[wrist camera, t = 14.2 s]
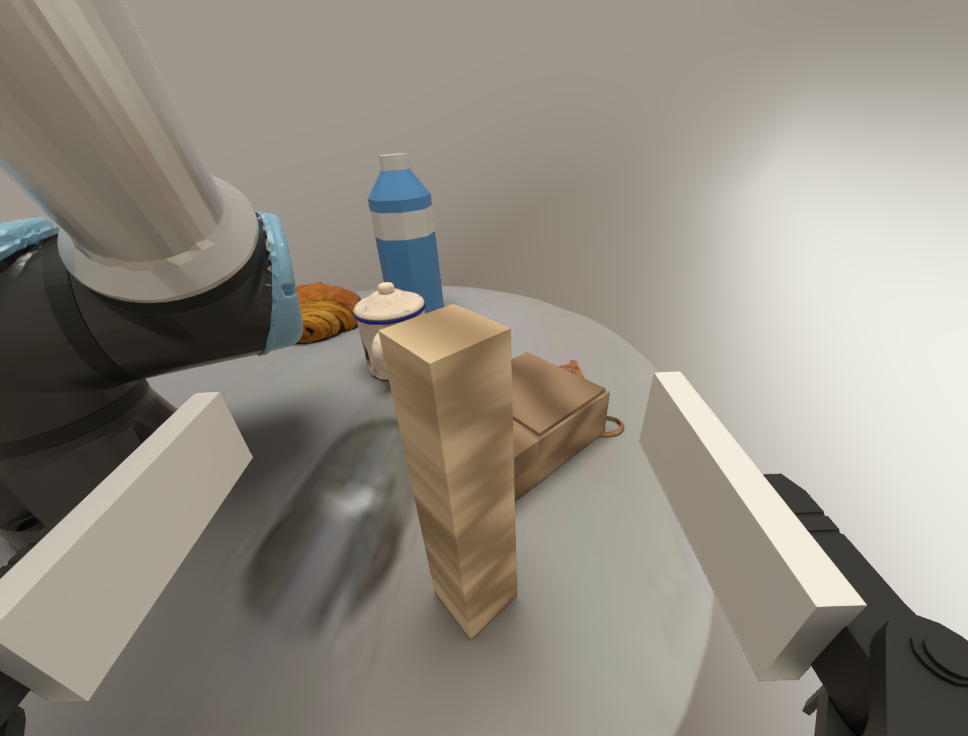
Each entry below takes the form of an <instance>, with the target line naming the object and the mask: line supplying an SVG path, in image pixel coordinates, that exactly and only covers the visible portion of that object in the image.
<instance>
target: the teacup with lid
mask: <svg viewBox="0 0 968 736" xmlns="http://www.w3.org/2000/svg"><path fill="white" fill-rule="evenodd" d="M425 307H426V304H425V302H424V300H423V298H422V297H421V296H420V295H418V294H416V293H413V292H408V291H403V290H400V289H394V285H393V284H392V283H390V282H384V283H381V284H379V285H378V291H377V292H375V293H373V294H372V295H371V296H369V297H366V298H364V299H362V300H361V301H359V302H358V303H357V304H356V306H355V308H354V313H353V315H354V318H355V319H356V320H357V323H358V327H359V331H360V335H361V339H362V343H363V348H364V352H365V356H366V360H367V364H368V368H369V371H370V373H371V374H372V375H373V376H375V377H376V378H379V379H382V380H389V378H388V374H387V369H386V365H385V360H384V355H383V351H382V346H381V342H380V337H379V332H378V330H381V329H384V328H387V327H389V326H392V325H395V324H398V323H401V322H404V321H406V320H409V319H412V318H415V317H418V316H420V315H423V314H425V310H424V309H425Z"/></svg>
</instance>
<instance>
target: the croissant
mask: <svg viewBox="0 0 968 736" xmlns="http://www.w3.org/2000/svg"><path fill="white" fill-rule="evenodd" d="M296 290H297V294H298V299H299V304H300V310H301V315H302V322H303V334H302V336H301V338H300V340H299V341H298V342H302V343H306V342H313V341H316V340H321V339H323V338H328V337H331V335H336V334H338V333H339V332H346V331H350V330H352V329H353V328H354V327H355V326H356V325H357V324H358V323H357V320H356V319H355V318H354V315H353V313H354V308H355V306H356V304H357V303H358V302H359V301H361V300H360V299H361V298H360V297H359V296H358V295H357V294H356V293H354V292H352V291H349V290H346V289H344V288H342V287H338V286H330V285H325V284H323V283H322V282H321V283H320V282H318V283H313V284H308V285H300V286H297V287H296Z"/></svg>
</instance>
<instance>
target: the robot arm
mask: <svg viewBox="0 0 968 736" xmlns="http://www.w3.org/2000/svg"><path fill="white" fill-rule="evenodd" d="M0 170H1V171H2V172H3V173H4V174H5V175H6V176H7V177H8V178H9V179H10V180H11V181H12V182H14V183H15V184H16V185H17V186H18V187H19V188H20V189H21V190H22V191H23V192H24V193H25V194H26V195H27V196H28V197H29V198H30V199H32V200H33V201H34V202H35V203H36V204H37V205H38V206H39V207H40V208H41V209H42V210H43V211H44V212H45V213H46V214H47V215H48V216H50V218H52V219H53V220H54V221H55V222H56V223H57V224H58V225H59V226H60V228H58V227H56V226H55V225H54V224H53V223H52V222H51V221H50V220H48V219H46V218H44V217H34V218H26V219H21V220H16V221H11V222H6V223H2V224H0V535H1V536H2V537H3V538H4V539H5V540H6V541H7V542H9V543H10V544H11V545H12V546H13V547H14V548H15V549H17V550H19V551H18V552H17V553H16V554H15V555H14V556H13V557H12V558H11V559H10V560H9V561H8V565H7V566H2V567H1V568H0V736H24V730H25V722H26V717H25V712H24V709H23V708H21V707H19V706H18V705H19V704H20V702H21V701H22V700H23V699H24V697H25V696H26V695H27V694H28V692H29V691H30V690H31V691H32V692H34V693H35V694H37V695H39V696H40V697H42V698H44V699H45V700H47V701H49V702H82V701H89V699H90V698H91V696H92V695H93V693H94V692H95V690H96V689H97V688H98V686H99V685H100V683H101V682H102V680H103V679H104V677H105V676H106V674H107V673H108V671H109V670H110V668H111V667H112V665H113V664H114V662H115V661H116V659H117V658H118V656H119V655H120V653H121V652H122V650H123V649H124V648H125V646H126V645H127V643H128V642H129V640H130V639H131V637H132V636H133V634H134V633H135V631H136V630H137V628H138V627H139V625H140V624H141V622H142V621H143V619H144V618H145V616H146V615H147V613H148V612H149V611H150V609H151V608H152V606H153V605H154V603H155V602H156V600H157V599H158V597H159V596H160V594H161V593H162V591H163V590H164V588H165V587H166V585H167V584H168V582H169V581H170V579H171V578H172V576H173V575H174V573H175V572H176V571H177V569H178V568H179V566H180V565H181V563H182V562H183V560H184V559H185V557H186V556H187V554H188V553H189V551H190V550H191V548H192V547H193V545H194V544H195V542H196V541H197V539H198V538H199V536H200V535H201V533H202V532H203V531H204V529H205V528H206V526H207V525H208V523H209V522H210V520H211V519H212V517H213V516H214V514H215V513H216V511H217V510H218V508H219V507H220V505H221V504H222V502H223V501H224V499H225V498H226V496H227V495H228V494H229V492H230V491H231V489H232V488H233V486H234V485H235V483H236V482H237V480H238V479H239V477H240V476H241V474H242V473H243V471H244V470H245V468H246V467H247V465H248V464H249V462H250V461H251V459H252V458H253V457H252V455H251V453H250V451H249V449H248V447H247V445H246V443H245V441H244V439H243V437H242V435H241V433H240V431H239V429H238V427H237V425H236V423H235V421H234V419H233V417H232V415H231V413H230V411H229V409H228V407H227V405H226V403H225V401H224V399H223V397H222V395H221V393H220V392H209V393H195V394H194V395H193V396H192V397H190V398H189V399H188V400H187V401H186V402H185V403H184V404H183V405H182V406H181V407H180V408H179V409H177V408H175V407H174V406H173V405H172V404H170V403H169V402H168V401H166V400H165V399H164V398H163V397H161V396H160V395H159V394H157V393H156V392H155V391H154V390H153V389H152V388H151V387H150V385H149V384H148V382H147V380H146V378H150V377H154V376H159V375H164V374H168V373H173V372H177V371H182V370H187V369H191V368H196V367H201V366H205V365H210V364H214V363H219V362H224V361H228V360H233V359H238V358H243V357H248V356H253V355H259V356H260V355H266V354H267V353H269V351H273V350H277V349H280V348H284V347H288V346H291V345H293V344H295V343H297V342H298V341H299V340H300V338H301V336H302V334H303V322H302V315H301V310H300V304H299V299H298V294H297V290H296V287H295V280H294V274H293V269H292V264H291V259H290V254H289V250H288V246H287V241H286V237H285V233H284V229H283V225H282V222H281V220H280V219H279V217H277V216H276V215H274V214H270V213H264V212H254V210H253V208H252V206H251V205H250V203H249V202H248V200H247V198H246V197H245V196H244V195H243V194H242V193H241V192H240V191H238V190H237V189H236V188H234V187H233V186H232V185H230V184H228V183H227V182H225V181H223V180H221V179H219V178H216V177H214V176H212V175H211V173H210V172H209V169H208V167H207V165H206V163H205V162H204V160H203V158H202V156H201V154H200V152H199V150H198V148H197V146H196V144H195V142H194V140H193V138H192V136H191V134H190V132H189V130H188V128H187V126H186V124H185V122H184V120H183V118H182V116H181V114H180V112H179V110H178V108H177V106H176V104H175V102H174V100H173V98H172V96H171V94H170V92H169V90H168V88H167V86H166V84H165V82H164V80H163V78H162V76H161V74H160V72H159V70H158V68H157V67H156V64H155V62H154V60H153V58H152V56H151V54H150V52H149V50H148V49H147V46H146V45H145V42H144V40H143V38H142V37H141V35H140V33H139V31H138V29H137V27H136V25H135V23H134V21H133V19H132V17H131V15H130V13H129V11H128V9H127V7H126V5H125V3H124V1H123V0H0ZM639 442H640V444H641V446H642V448H643V450H644V452H645V454H646V456H647V458H648V460H649V462H650V465H651V467H652V469H653V471H654V473H655V475H656V477H657V479H658V481H659V483H660V485H661V487H662V489H663V491H664V493H665V495H666V497H667V499H668V501H669V503H670V505H671V507H672V509H673V511H674V513H675V515H676V517H677V519H678V521H679V523H680V525H681V527H682V529H683V531H684V533H685V535H686V537H687V539H688V541H689V543H690V545H691V547H692V549H693V551H694V553H695V555H696V557H697V559H698V561H699V563H700V565H701V567H702V569H703V571H704V573H705V575H706V577H707V579H708V581H709V583H710V585H711V587H712V589H713V591H714V593H715V595H716V597H717V599H718V601H719V603H720V605H721V607H722V609H723V611H724V613H725V615H726V617H727V619H728V621H729V623H730V625H731V627H732V629H733V631H734V633H735V635H736V638H737V639H738V641H739V644H740V646H741V648H742V649H743V651H744V654H745V656H746V658H747V660H748V662H749V664H750V666H751V668H752V669H753V672H754V674H755V676H756V678H757V680H758V681H772V680H773V681H776V680H799V679H800V678H801V676H802V675H803V674H804V673H805V672H806V671H807V670H808V669H809V668H810V667H811V666H812V668H813V669H814V671H815V672H816V674H817V676H818V677H819V679H820V681H821V682H822V684H823V685H822V686H821V687H820V688H819V689H818V690H817V691H816V693H815V694H813V695H812V696H811V697H810V698H809V699H808V700H807V701H806V704H805V706H804V708H803V710H802V711H803V712H805V713H806V714H808V715H811V713H813V712H814V711H815V710H816V709H817V716H816V725H815V735H814V736H968V641H967V640H966V639H965V638H963V637H962V636H960V635H958V634H957V633H955V632H953V631H952V630H950V629H948V628H947V627H945V626H943V625H941V624H940V623H937V622H935V621H932V620H929V619H926V618H923V617H921V616H917V615H916V614H915V613H914V612H913V611H912V610H911V609H910V608H909V607H908V606H907V605H906V604H905V603H904V602H903V601H902V600H901V599H900V598H899V596H898V595H897V594H896V593H895V592H894V591H893V590H892V588H891V587H890V586H889V585H888V584H887V583H886V582H885V581H884V579H883V578H882V577H881V576H880V575H879V574H878V573H877V571H875V569H874V568H873V567H872V566H871V565H870V564H869V563H868V561H867V560H866V559H865V558H864V557H863V556H862V554H861V553H860V552H859V551H858V550H857V549H856V548H855V547H854V545H853V544H852V543H851V542H850V541H849V540H848V539H847V538H846V536H845V535H844V534H841V533H840V532H839V528H838V527H837V526H836V525H835V524H834V523H833V522H832V520H831V519H830V518H829V517H828V516H825V515H824V511H823V510H822V509H821V508H820V507H819V506H818V504H817V503H816V502H815V501H814V500H813V499H812V498H811V497H810V495H809V494H808V493H807V492H806V491H805V490H803V489H802V488H801V487H799V486H798V485H796V484H795V483H794V482H792V481H791V480H789V479H788V478H786V477H785V476H784V475H782V474H762V473H761V472H760V471H759V470H758V468H757V467H756V466H755V464H754V463H753V462H752V461H751V459H750V458H749V457H748V456H747V454H746V453H745V452H744V451H743V449H742V448H741V447H740V446H739V445H738V443H737V442H736V441H735V439H734V438H733V437H732V436H731V434H729V432H728V431H727V429H726V428H725V427H724V426H723V425H722V423H721V422H720V421H719V419H718V418H717V417H716V416H715V415H714V413H713V412H712V411H711V410H710V408H709V407H708V406H707V404H706V403H705V402H704V401H703V400H702V398H701V397H700V396H699V395H698V393H697V392H696V391H695V389H694V388H693V387H692V386H691V384H690V383H689V382H688V381H687V380H686V378H685V377H684V376H683V375H682V374H681V372H660V373H654V376H653V381H652V385H651V390H650V394H649V399H648V403H647V408H646V412H645V417H644V421H643V426H642V431H641V435H640V440H639Z"/></svg>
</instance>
